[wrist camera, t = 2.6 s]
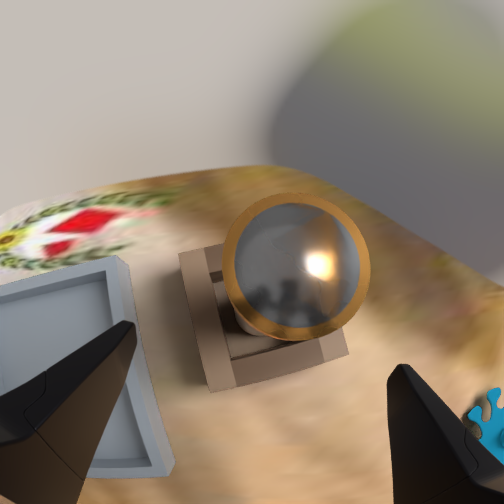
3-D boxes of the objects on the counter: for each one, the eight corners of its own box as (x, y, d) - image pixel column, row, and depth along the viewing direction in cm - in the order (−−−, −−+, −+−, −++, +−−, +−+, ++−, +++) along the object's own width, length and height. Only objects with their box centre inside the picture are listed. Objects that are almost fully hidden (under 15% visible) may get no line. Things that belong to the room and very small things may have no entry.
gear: (502, 358, 17) (577, 404, 9) (493, 374, 21) (557, 414, 13) (424, 468, 16) (500, 521, 8) (428, 465, 20) (491, 510, 12)
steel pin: (295, 332, 19) (387, 314, 7) (237, 346, 19) (243, 358, 7) (279, 276, 20) (342, 182, 8) (223, 289, 20) (207, 208, 8)
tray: (176, 461, 16) (168, 476, 14) (25, 459, 14) (8, 467, 12) (128, 264, 20) (115, 255, 17) (-8, 298, 18) (-27, 293, 16)
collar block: (332, 352, 19) (349, 354, 16) (213, 385, 18) (210, 392, 15) (300, 240, 21) (311, 224, 18) (186, 266, 20) (178, 253, 17)
